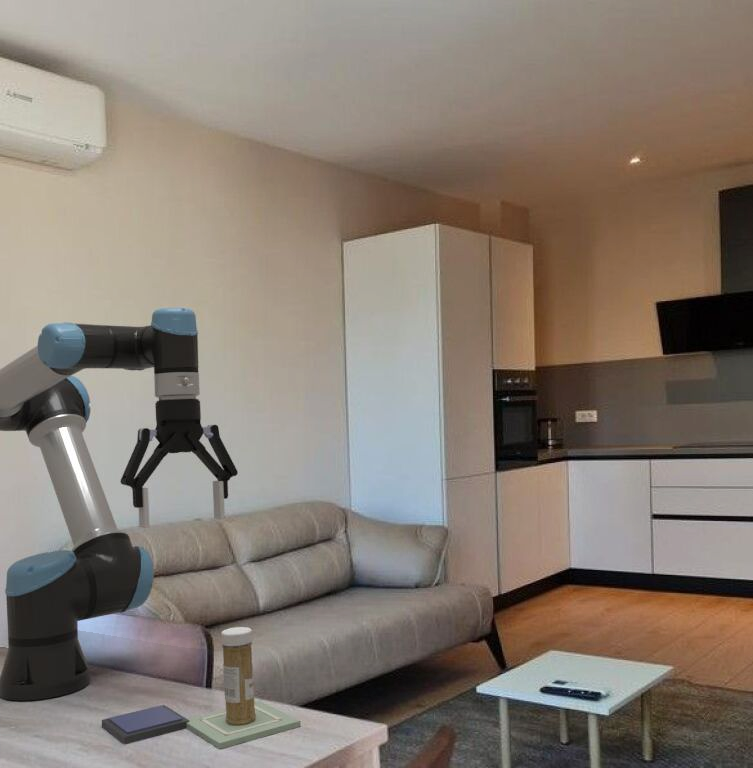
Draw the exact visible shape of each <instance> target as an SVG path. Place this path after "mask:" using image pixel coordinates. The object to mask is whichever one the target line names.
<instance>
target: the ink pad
mask: <svg viewBox="0 0 753 768" xmlns="http://www.w3.org/2000/svg"><path fill="white" fill-rule="evenodd" d="M188 719H189V718H186V717H185V716H183V715H182V714H180V713H178V712H177V711H175V710H173V709H171V708H170V707H169V706H167V705H165V704H161V705H156V706H152V707H149V708H144V709H141V710H140V709H139V710H136V711H131V712H128V713H123V714H118V715H115V716H110V717H109V718H104V719H101V727H102V728H103V729H104V730H105V731H107V732H108V733H110V735H112V736H113V737H115V738H116V739H117V740H119V742H121V743H122V744H123V745H127V744H131V743H134V742H138V741H143V740H145V739H150V738H153V737H154V738H155V737H157V736H161V735H164V734H169V733H173V732H177V731H180V730H181V731H182V730H185V729H187V726H186V723H187V722H189V720H188Z"/></svg>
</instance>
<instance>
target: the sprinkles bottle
mask: <svg viewBox="0 0 753 768" xmlns="http://www.w3.org/2000/svg"><path fill="white" fill-rule="evenodd" d="M220 636H221V637H220V638H221V639H220V640H221V641H220V642H221V646H222V652H223V653H222V655H223V656H222V658H223V664H222V665H223V683H224V684H223V687H224V689H223V690H224V700H225V709H226V722H227V723H229V724H233V725H241V724H247V723H250V722H252V721H253V720H254V719H255V718H256V714H255V708H254V702H255V687H254V686H255V685H254V668H253V667H254V666H253V657H252V654H253V652H252V643H253V630H252V629H251V628H250V627H246V626H238V627H237V626H234V627H229V628H227V629H224V630H222V631H221V635H220Z"/></svg>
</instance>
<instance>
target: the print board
mask: <svg viewBox="0 0 753 768" xmlns="http://www.w3.org/2000/svg"><path fill="white" fill-rule="evenodd" d="M254 708H255V714H256V718H255V719H254V720H253V721H252V722H250V723H247V724H241V725H233V724H229V723H227V722H226V708H225V709H221V710H220V709H219V710H216V711H213V712H210V713H209V712H208V713H204V714H202V715H198V716H193V717H189V718H187V719H188V720H189V722H187V723H186V726H187V728H186V729H188V730H189V731H191V732H192V733H194V734H195V735H197V736H199V737H200V738H202V739H203V740H205V741H206V742H207V743H209V744H211V745H213V746H214V747H216V748H217V749H219V750H222V749H224V748H225V749H226V748H229V747H233V746H236V745H239V744H242V743H246V742H247V743H248V742H250V741H253V740H257V739H261V738H264V737H268V736H271V735H275V734H277V733H281V732H285V731H289V730H293V729H296V728H298V727H299V728H301V725H302V724H301V720H300V719H298V718H295V717H294V716H292V715H290V714H287V713H286V712H285V711H284V712H283V711H282V710H280V709H277V708H275V707H274V706H271V705H269V704H267V703H265V702H263V701H262V700H256V701H255V700H254Z"/></svg>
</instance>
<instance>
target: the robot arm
mask: <svg viewBox="0 0 753 768" xmlns="http://www.w3.org/2000/svg"><path fill="white" fill-rule="evenodd" d="M196 318H197V317H196V313H195V312H194V311H193V310H192V309H189V308H184V307H168V308H167V307H165V308H159V309H158V308H157V309H155V310H154V311H153V312H152V314H151V321H150V324H149V325H145V326H127V325H107V324H105V325H104V324H87V323H73V322H67V321H66V322H60V323H59V322H55V323H48V324H46V325H45V326H44V327H42V330H41V333H39V336H38V338H37V339H38V340H37V345H36V346H35V347H33V348H31V349H30V350H28V351H26V352H25V353H24V354H22V355H21V356H19V357H17V358H16V359H14V360H13V361H11V362H9V363H8V364H7V365H5V366H3V367H1V368H0V431H2V432H16V431H17V432H20V431H25V432H26V435H27V438H28V441H29V442H30V444H31V445H32V446H34V447H37V448H39V449H40V452H41V454H42V457H43V460H44V463H45V465H46V469H47V473H48V474H49V477H50V481H51V483H52V486H53V489H54V492H55V495H56V498H57V501H58V503H59V506H60V509H61V512H62V515H63V518H64V522H65V524H66V527H67V530H68V533H69V536H70V539H71V541H72V545H73V547H72V549H71V550H70V549H62V550H54V551H50V552H47V551H46V552H42V553H41V552H40V553H38V554H34V555H31V556H27V557H24V558H22V559H19V560H17V561H15V562H14V563H13V564H11V565H10V566H9V567H8V569H7V571H6V581H5V582H6V584H5V591H4V592H5V595H6V596H5V597H6V617H7V618H6V619H7V637H8V638H7V641H8V642H7V643H8V648H7V653H6V656H5V659H4V663H3V666H2V670H1V672H0V698H2V699H5V700H7V701H8V700H9V701H25V702H26V701H38V700H46V699H51V698H57V697H60V696H65V695H68V694H71V693H74V692H77V691H79V690H81V689H84V688H85V687H87V685H89V684H90V681H91V676H90V668H89V665H88V663H87V660H86V656H85V655H84V652H83V651H84V650H83V649H82V647H81V644H80V640H79V634H78V633H79V632H78V622H79V621H84V620H89V619H94V618H99V617H103V616H108V615H112V614H117V613H120V614H122V613H125V612H127V611H129V610H134V609H136V608H140V607H141V606H143V605H144V604H145V602H146V601H147V600H148V598H149V597H150V594H151V592H152V590H153V583H154V577H155V576H154V573H155V572H154V564H153V560H152V557H151V555H150V553H149V551H148V550H147V549H146V548H144V547H143V546H139V545H135V546H134V545H133V544H132V542H131V541H132V540H131V537H130V536H129V534H128V533H127V532H125V531H123V530H120V529H118V527H117V524H116V522H115V519H114V516H113V514H112V511H111V508H110V505H109V503H108V500H107V497H106V494H105V491H104V489H103V487H102V483H101V480H100V478H99V475H98V473H97V470H96V468H95V465H94V462H93V460H92V457H91V454H90V452H89V451H90V450H89V448H88V446H87V444H86V441H85V437H84V435H83V432H85V430H86V427H87V422H88V421H89V419H90V415H91V406H90V403H91V400H90V399H91V398H90V396H89V392H88V390H87V387H86V386H85V384H84V383H83V382H82V381H81V380H80V379H79V378H78V377H76V376H75V374H76V373H79V372H81V371H82V370H86V369H104V370H105V369H116V370H117V369H119V370H120V369H121V370H122V369H123V370H126V371H144V370H146V369H151V368H153V374H154V375H153V376H154V377H153V378H154V381H153V382H154V397H156V399H157V398H158V400H157V401H156V402H154V403H155V422H156V426H155V429H150V428H148V427H146V428H139V429H138V430H137V439H136V440H137V441H136V444H135V446H134V448H133V450H132V453H131V456H130V458H129V460H128V462H127V465H126V467H125V469H124V472H123V474H122V476H121V478H120V484H121V485H123V486H127V487H130V488H131V490H132V506H133V507H134V508H136V509H138V526H139V527H140V528H144V529H146V528H150V505H149V503H150V502H149V488H148V487H144V486H145V484H146V482H148V480H149V479H150V477H151V476H152V475H153V473H154V472H155V470H156V469H157V468H158V466H159V465H160V464H161V462H162V461H163V459H164V458H165V457H167V455H168V454H180V453H192V454H193V455H195V456H196V457H197V458H198V459H199V460H200V462H202V463H203V465H204V466H205V467H206V468H207V469H208V470H209V472H210V473H211V474H212V475H213V476H214V477H215V478H216V479H217V480H212V495H213V496H212V497H213V519H216V520H217V519H218V520H223V519H225V518H226V517H225V515H226V514H225V499H228V497H229V485H228V484H229V483H228V481H230V479H231V478H233V477H236V476H237V475H238V472H239V471H238V470H237V468H236V465H235V463H234V462H233V460H232V457H231V455H230V454H229V452H228V451H227V448H226V446H225V445H224V442H223V440H222V439H221V435H220V429H219V426H218V425H217V424H209V425H207V426H202V424H201V420H202V419H201V418H202V415H201V414H202V413H201V412H202V411H201V401H200V400H199V398H197V397H198V396H199V395H200V392H201V390H200V373H199V343H198V342H199V341H198V340H199V339H198V338H199V337H198V334H199V331H198V327H197V319H196ZM203 435H204V437H205V438H206V439H207V440H208V442H209V444H210V446H211V448H212V450H213V452H214V454H215V456H216V458H217V460H218V462H217V460H216V459H215V458H214V457H213V456H212V454H210V452H208V451H207V449H206V447H205V445H204V444H203V443H202V442H201V441H200V440H201V438H202V437H203ZM153 438H155V439H156V440H157V442H158V445H156V447H155V449H154V450H153V453H152V454H150V455H151V456H149V458H148V459H147V461H146V462H145V463H144V465H143V467H141V469H140V466H141V463H142V461H143V459H144V456H145V454H146V453H147V450H148V447H149V445H150V444H149V443H151V442H152V441H153V440H154V439H153ZM139 469H140V471H139V472H138V470H139Z"/></svg>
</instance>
